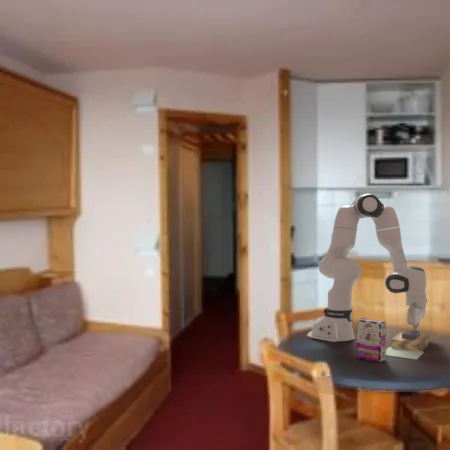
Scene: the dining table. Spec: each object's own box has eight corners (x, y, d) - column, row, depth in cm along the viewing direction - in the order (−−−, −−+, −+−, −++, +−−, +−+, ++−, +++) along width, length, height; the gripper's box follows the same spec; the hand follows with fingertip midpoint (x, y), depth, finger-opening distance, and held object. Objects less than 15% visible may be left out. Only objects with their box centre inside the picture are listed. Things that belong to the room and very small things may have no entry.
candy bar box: (386, 360, 228) (386, 321, 227) (380, 363, 224) (380, 323, 224) (362, 355, 236) (362, 317, 235) (356, 357, 232) (356, 319, 231)
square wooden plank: (391, 348, 247) (391, 339, 247) (400, 340, 261) (400, 332, 260) (421, 352, 240) (421, 343, 240) (429, 344, 254) (429, 335, 254)
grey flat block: (401, 338, 249) (401, 333, 249) (406, 334, 256) (406, 329, 256) (415, 339, 246) (415, 335, 246) (420, 335, 253) (420, 331, 253)
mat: (380, 354, 236) (380, 354, 236) (389, 347, 247) (389, 347, 247) (416, 359, 229) (416, 359, 229) (423, 352, 240) (423, 351, 240)
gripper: (418, 305, 248) (417, 336, 248) (427, 298, 265) (427, 327, 266) (403, 304, 251) (403, 334, 252) (414, 297, 269) (413, 325, 269)
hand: (415, 330), depth 259 cm, fingers closed
